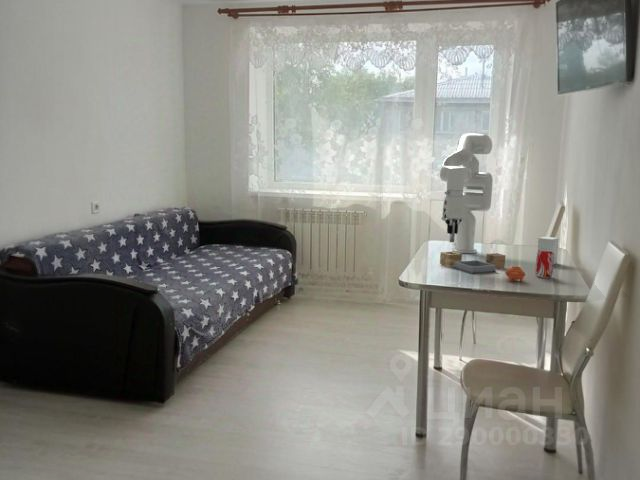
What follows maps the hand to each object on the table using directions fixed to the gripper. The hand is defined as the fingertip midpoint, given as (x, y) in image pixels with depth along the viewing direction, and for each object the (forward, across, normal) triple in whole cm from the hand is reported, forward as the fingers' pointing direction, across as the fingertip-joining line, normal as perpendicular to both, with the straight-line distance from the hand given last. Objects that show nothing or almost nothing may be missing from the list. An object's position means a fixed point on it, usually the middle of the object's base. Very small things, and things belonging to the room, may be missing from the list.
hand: (452, 233), depth 274 cm
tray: (+15, +4, -12) cm, 20 cm away
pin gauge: (+4, 0, 0) cm, 4 cm away
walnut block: (+15, +18, -10) cm, 26 cm away
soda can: (+16, +24, -34) cm, 44 cm away
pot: (+16, +6, -36) cm, 40 cm away
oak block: (+15, 0, 0) cm, 15 cm away
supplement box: (+15, +49, -11) cm, 53 cm away
